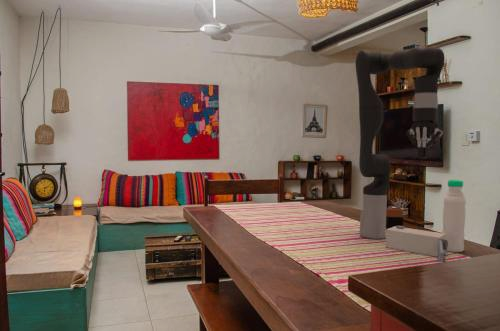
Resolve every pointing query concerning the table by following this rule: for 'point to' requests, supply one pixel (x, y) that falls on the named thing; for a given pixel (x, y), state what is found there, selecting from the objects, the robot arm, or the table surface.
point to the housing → (415, 240)
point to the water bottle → (454, 216)
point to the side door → (440, 252)
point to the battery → (394, 217)
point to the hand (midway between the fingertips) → (422, 158)
